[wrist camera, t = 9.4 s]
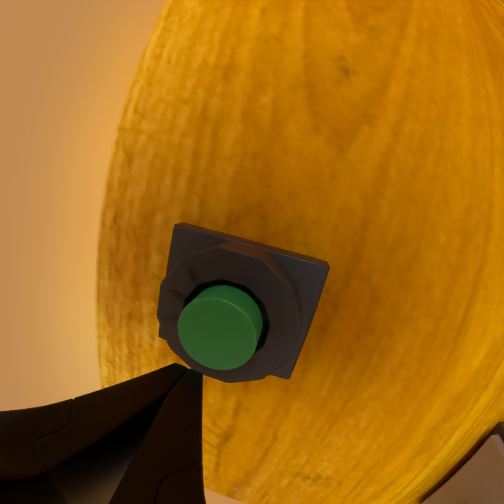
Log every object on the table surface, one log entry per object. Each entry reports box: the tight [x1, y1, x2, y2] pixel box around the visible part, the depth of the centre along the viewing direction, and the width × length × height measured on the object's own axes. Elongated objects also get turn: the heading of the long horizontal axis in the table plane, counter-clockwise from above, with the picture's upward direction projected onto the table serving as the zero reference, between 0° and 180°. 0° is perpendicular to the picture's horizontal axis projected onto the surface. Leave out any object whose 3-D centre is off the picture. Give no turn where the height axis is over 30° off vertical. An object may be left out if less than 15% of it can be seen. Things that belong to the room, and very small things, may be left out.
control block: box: [157, 222, 330, 383], centre depth 12 cm, size 6×7×2 cm
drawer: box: [421, 434, 504, 504], centre depth 7 cm, size 11×11×9 cm
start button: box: [178, 285, 263, 370], centre depth 10 cm, size 3×3×2 cm
